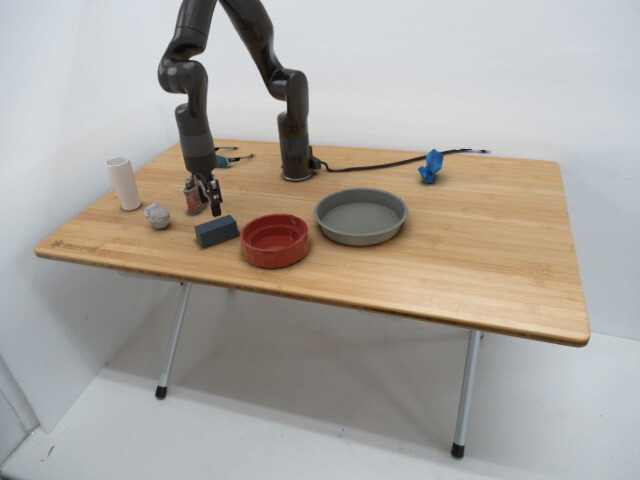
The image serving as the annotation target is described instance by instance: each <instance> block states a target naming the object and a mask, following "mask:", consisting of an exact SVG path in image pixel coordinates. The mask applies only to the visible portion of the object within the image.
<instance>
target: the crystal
mask: <svg viewBox="0 0 640 480" xmlns="http://www.w3.org/2000/svg"><path fill="white" fill-rule="evenodd" d="M439 152H440V151H438V150H437V149H436V148H432V150H430V151H429V152H428V153H427V154H425V155H426V158H425V165H421V166H419V167H418V168H417V171H418V173H419V174H420V176H421V178H422V179H423V182H424V183H425V184H433V182H434V178H435V177H434V176H435V175H436V174H437V173H438V172H439V171H440V170H442V168H443V163H444V159H445V158H444V157H445V156H444V154H441V153H439Z"/></svg>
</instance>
